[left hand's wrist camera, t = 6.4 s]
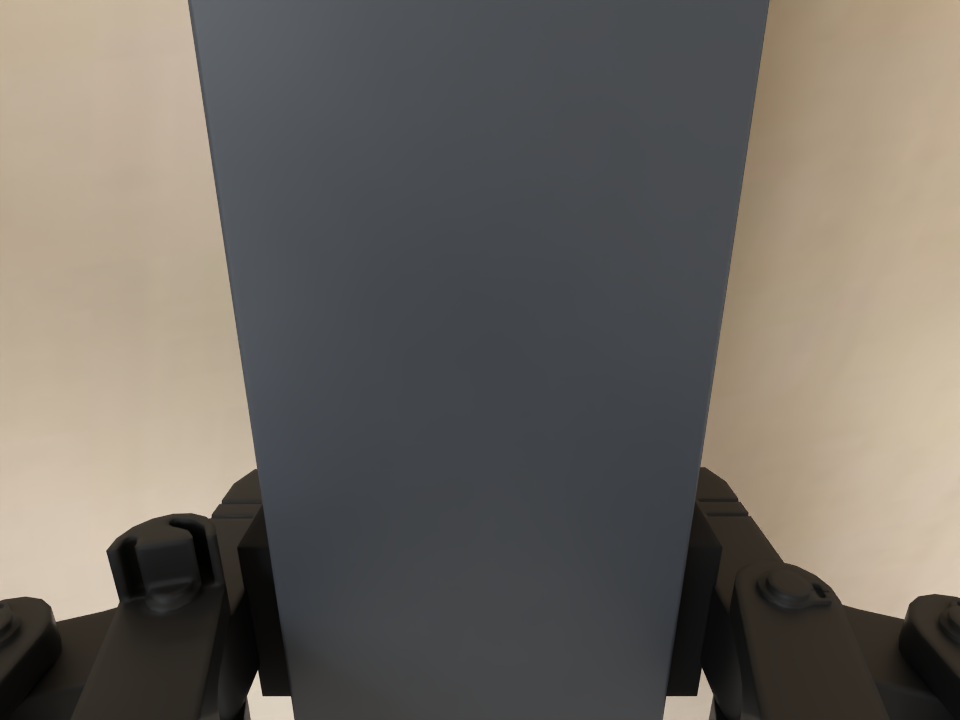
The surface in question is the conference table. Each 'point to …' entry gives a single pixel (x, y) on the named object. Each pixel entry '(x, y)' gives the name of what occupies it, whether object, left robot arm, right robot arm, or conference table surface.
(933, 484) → the conference table surface
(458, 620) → the beam
